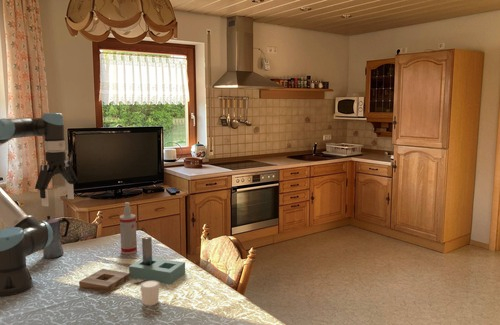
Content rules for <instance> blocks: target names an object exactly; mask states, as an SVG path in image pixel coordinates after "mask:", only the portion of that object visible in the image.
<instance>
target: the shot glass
mask: <svg viewBox="0 0 500 325" xmlns="http://www.w3.org/2000/svg"><path fill="white" fill-rule="evenodd" d="M140 290H141V292H140V293H141V299H142V305H145V306H154V305H157V304H158V302H159V298H160V297H159V295H160V294H159V293H160V282H158V281H154V280H150V281H148V280H144V281H143V282H141V283H140Z"/></svg>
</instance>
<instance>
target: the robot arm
mask: <svg viewBox="0 0 500 325" xmlns="http://www.w3.org/2000/svg"><path fill="white" fill-rule="evenodd" d="M27 137H28V138H29V137H43V140H44V151H45V152H44V153H45V154H44V157H45V162H46V164H40V166H39V167H40V169H39V172H38V173H39V174H38V176H37V180H36V184H35V186H34V189H35V190H38V191H39V196H40V199H41V206H42V207H49V205H50V204H49V202H50V201H49V190H48V189H47V188H48V186H49V184H50V183H51V180H52V179H53V177H54V176H55V175H58V174H61V176H62V177H63V178H64V179H65V180H66V182H67V183H66V191H67V192H66V193H67V200H74V199H75V196H74V193H75V192H74V191H75V184H76V183H77V182H78V180H79V179H78V177H77V175H76V173H75V171H74V169H73V166H72V162H71V160H67V157H66V154H67V153H66V151H65V150H66V143H65V142H66V141H65V122H64V115H63V113H60V112H44V113H42V117H19V118H16V117H15V118H5V117H4V118H0V147H1V146H2V145H5V144H6V143H8V142H9V141H11V140H13V139H20V138H27ZM0 221H1V222H2V223H3V224H4V225H5V226H6V227H7V228H3V229H1V230H0V297H8V296H13V295H17V294H21V293H24V292H25V291H27V290H30V289H31V288H32V287H33V284H34V283H33V278H32V276H31V274H30V271H29V269H28V268H27V258H26V257H27V256H30V255H33V254H35V253H36V252H39V251H42V250H43V249H44V248H45V247H47V246H48V245H49V244H50V243H51V241H52V238H53V235H52V234H53V231H52V228H51V226H50V225H49V224H48V223H47V222H45V221H43V220H37V218H36V217H34V215H28V214H27V213H25V211H24V210H23V209H22V208H21V207H20V206H19V205H18V204H17V202H15V200H13V199H12V198H11V196H9V195H8V193H7V192H6V191H4V190H3V188H2V187H1V186H0Z"/></svg>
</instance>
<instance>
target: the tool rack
mask: <svg viewBox="0 0 500 325" xmlns="http://www.w3.org/2000/svg"><path fill="white" fill-rule="evenodd" d="M128 271H129V272H128V273H130V279H136V280H141V281H150V280H154V281H158V282H159V284H168V285H172V284H173V283H174V282H176V281H177V280H178V279H180V278H182V277H183V276H184V275H185V274H186V262H185V261H179V260H178V261H177V260H172V259H165V258H157V257H152V265H150V266H146V265H143V257H142V258H140V259H139V260H137V261H136V262H133V263H132V264H130V265H128Z"/></svg>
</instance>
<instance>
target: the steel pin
mask: <svg viewBox="0 0 500 325" xmlns="http://www.w3.org/2000/svg"><path fill="white" fill-rule="evenodd" d="M141 247H142V249H141V250H142V258H143V265H146V266H150V265H152V258H153V242H152V237H151V236H144V237H142V238H141Z"/></svg>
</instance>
